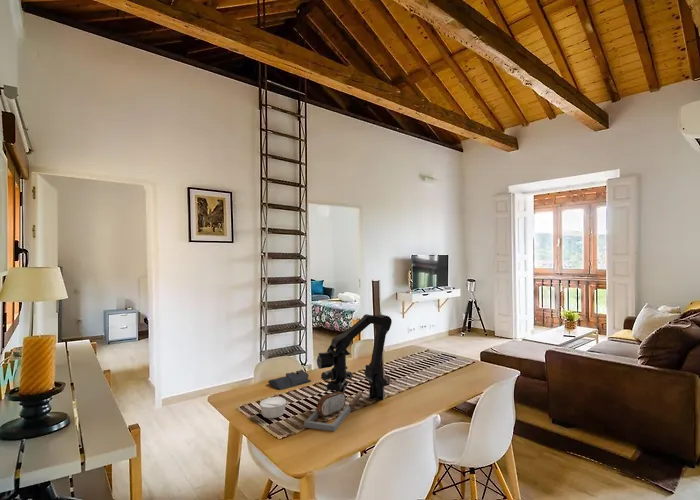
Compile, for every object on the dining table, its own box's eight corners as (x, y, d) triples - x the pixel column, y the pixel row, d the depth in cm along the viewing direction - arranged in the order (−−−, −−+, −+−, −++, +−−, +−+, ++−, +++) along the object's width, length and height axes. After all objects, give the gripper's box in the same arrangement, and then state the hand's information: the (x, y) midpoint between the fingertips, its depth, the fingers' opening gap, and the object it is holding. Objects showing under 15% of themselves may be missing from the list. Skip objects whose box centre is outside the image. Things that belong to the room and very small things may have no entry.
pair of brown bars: (361, 396, 182) (361, 392, 182) (351, 409, 167) (351, 404, 167) (336, 393, 186) (336, 389, 186) (324, 406, 171) (324, 401, 171)
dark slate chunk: (264, 384, 203) (264, 375, 203) (298, 375, 217) (298, 367, 217) (278, 392, 191) (278, 382, 191) (314, 381, 205) (314, 373, 205)
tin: (342, 406, 170) (342, 388, 170) (347, 408, 168) (346, 389, 168) (316, 417, 160) (316, 397, 160) (321, 419, 157) (321, 399, 157)
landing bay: (350, 411, 165) (350, 406, 165) (334, 431, 146) (334, 426, 146) (323, 407, 169) (322, 403, 169) (304, 427, 150) (304, 422, 151)
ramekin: (260, 421, 157) (260, 408, 157) (259, 410, 167) (259, 398, 168) (287, 417, 160) (287, 405, 160) (284, 407, 171) (284, 395, 171)
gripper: (330, 358, 184) (331, 390, 183) (315, 370, 166) (316, 405, 166) (352, 360, 180) (353, 392, 180) (338, 372, 162) (339, 408, 162)
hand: (340, 399), depth 172 cm, fingers closed
